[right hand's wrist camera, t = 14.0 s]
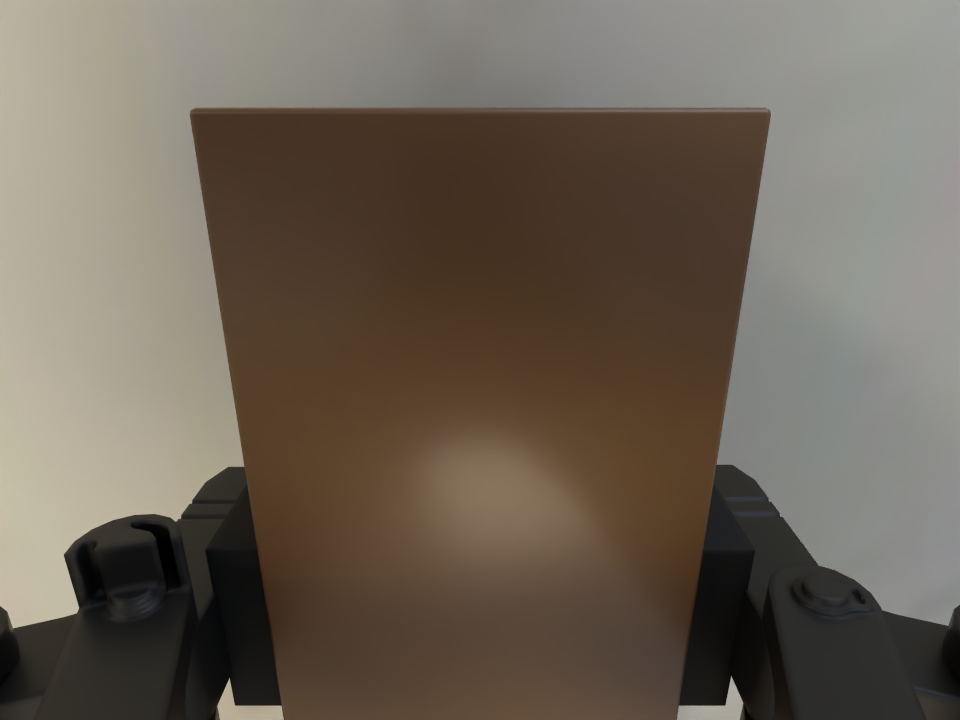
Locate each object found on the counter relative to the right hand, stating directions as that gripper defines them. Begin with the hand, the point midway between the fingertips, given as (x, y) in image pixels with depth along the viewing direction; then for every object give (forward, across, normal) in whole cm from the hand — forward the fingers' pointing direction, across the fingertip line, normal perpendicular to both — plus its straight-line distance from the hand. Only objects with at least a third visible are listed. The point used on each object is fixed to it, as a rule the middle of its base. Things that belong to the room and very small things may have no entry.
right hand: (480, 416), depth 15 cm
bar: (+1, 0, -22) cm, 22 cm away
